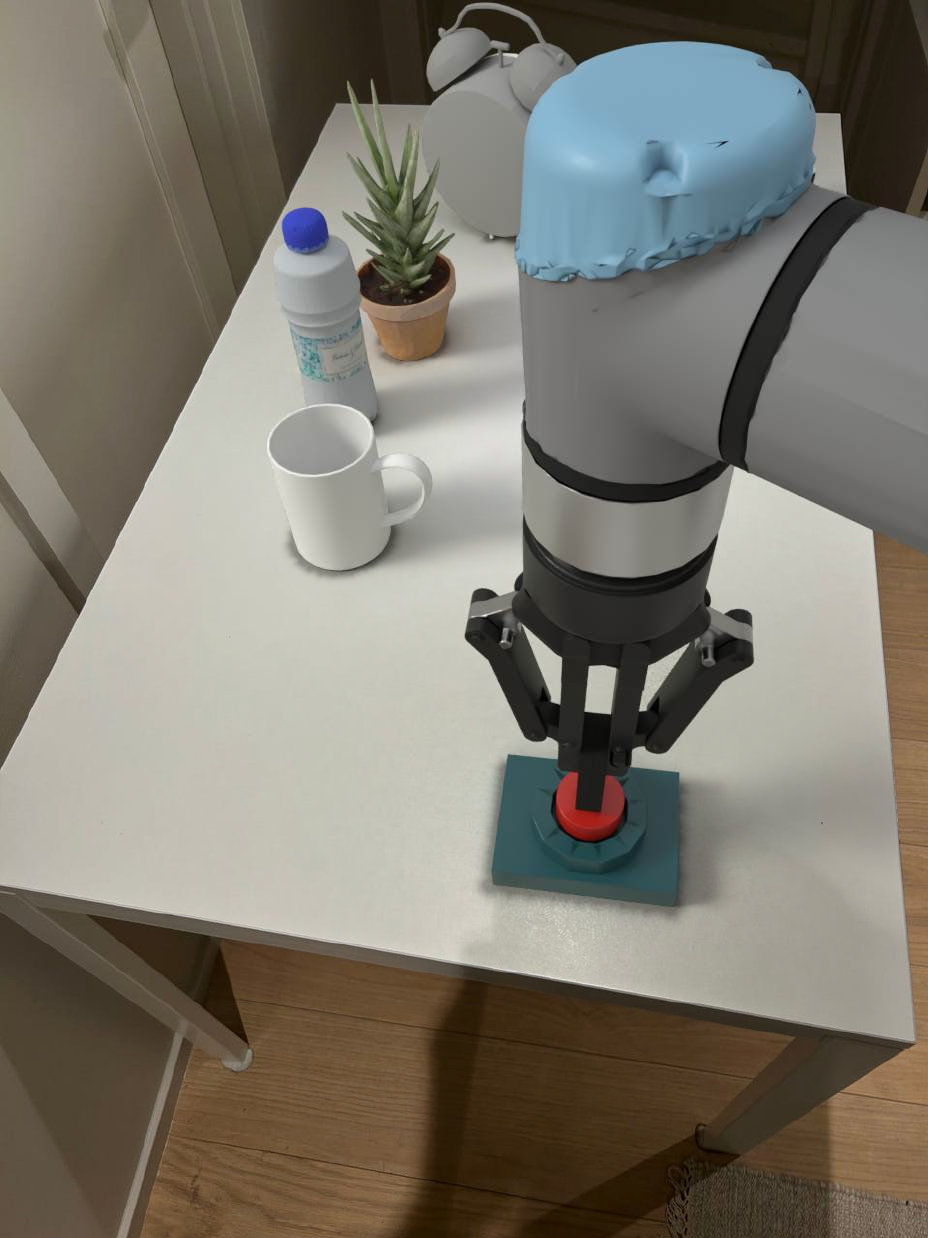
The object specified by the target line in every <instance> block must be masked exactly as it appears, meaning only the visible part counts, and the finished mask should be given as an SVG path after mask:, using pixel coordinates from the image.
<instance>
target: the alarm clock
mask: <svg viewBox="0 0 928 1238" xmlns="http://www.w3.org/2000/svg"><path fill="white" fill-rule="evenodd" d="M485 9H486V10H497V11H499V12H503V13H506V14H509V15H511V16H514V17H517V18H519V19H520V20H522V21H523V22H525V23H527V24H528V26H529V27H530V29H531V30H532V32H533V33H534V34H535V35H536V38H537V39H538V42H539V43H533V44H531V45H529V46H527V47H525V48H524V49H523V50H521V51H520V52H519V53H510V52H509V53H508V52H504V51H509V50H510V47H511V46H510V43H508V42H502V41H500V40H499V41H498V40H491V39H490V38H489V36H488V35H487V34H486V33H485V32H483V31H482V30H480V29H477V28H476V27H463V28H459V27H460V25H461V23H462V21H463V18H464V17H465V16H466V14H467V13H468V12H469V11H473V10H485ZM438 36H439V37H440V40H439V41H438V42H437V44H436V45H435V46H434V47H433V49H432V51H431V53H430V56H429V57H428V61H427V64H426V77H427V81H428V84H429V86H430V87H431V89H432V91H433V92H438V91H439V90H441V89H442V88H444V87H445V86H447V85H448V84H450V83H451V82H453V81H454V83H452V84H451V85H450V86H449V87H448V88H446V89H445V90H444V91H443V92H442V93H441V94H440V95H439V96H438V97H437V98H435V100H434V101H432V103H431V105H430V107H429V108H428V110H427V112H426V113H425V114H424V119H423V123H422V128H421V133H420V135H421V153H422V157H423V160H424V165H425V168H426V169H425V170H426V171H427V173H428V175H431V174H432V172H433V170H434V167H435V165H436V162H437V160H438V158H440V167H439V172H438V176H437V179H436V182H435V186H434V189H435V190H436V191H437V193H438V195H440V198H442V201H444V203H445V204H446V205H447V206H448V208H450V209H451V210H452V212H454V214H455V215H456V216H458V217H459V219H461V220H462V221H464V223H467V224H468V225H470V226H471V227H472V228H474V229H475V230H478V231H481V232H483V233H485V234H487V235H489V239H490V240H493V239H494V238H495V237H501V238H508V237H510V238H511V237H517V236H518V235H519V234H520V226H521V205H522V184H523V164H524V143H525V134H526V130H527V125H528V122H529V119H530V116H531V114H532V111H533V109H534V107H535V105H536V104H537V102H538V100H539V99H540V98H541V96H542V95H543V94H544V93H545V92H546V91H547V90H548V89H549V88H550V87H551V85H552V84H553V82H555V81H556V80H557V79H559V78H561V77H563V76H565V75H568V74H571V73H572V72H573V71H574V70H575V69H576V68H577V66H578V65H577V64H576V62H575V61H574V59H573V58H572V57H571V55H570V54H569V53H567V52H566V51H565V50H564V49H562V48H561V47H559V46H556V45H554V44H552V43H547V42H546V40H545V39H544V38H543V35H542V33H541V30H540V28H539V27H538V25H537V24H536V22H535V21H534V20H533V19H532V17H530V16H528V15H527V14H525V13H524V12H522V11H520V10H517V9H515V8H512V7H510V6H508V5H503V4H500V3H496V2H495V3H494V2H475V3H470V4H467V5H466V6H465V7H464V8H463V9H462V10H461V11H460V12H459V14H458V16H457V19H456V22H455V23H454V25H452V26H451V28H449V29H448V30H446V29H444V28H443V27H439V28H438ZM492 49H497V53H495V54H494V53H493V54H490V55H488V56H486V54H487V53H488V52H489V51H490V50H492ZM458 77H459V78H458ZM456 78H458V79H457V80H455V79H456Z"/></svg>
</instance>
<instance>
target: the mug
mask: <svg viewBox="0 0 928 1238" xmlns="http://www.w3.org/2000/svg"><path fill="white" fill-rule="evenodd" d="M371 422H372V421H370V420H369V419H368V418H367V417H366V416H365V415H364V414H363V413H362V412H360V411H358V410H356V409H354V408H352V407H348V406H344V405H340V404H318V405H312V406H308V407H306V406H305V407H302V408H299V409H297V410H295V411H292V412H290V413H288V414H287V415H286V416H284V417H283V418H282V419H281V420H280V421H278V422H276V424H275V425H274V427H273V428H272V429H271V430H270V433H269V435H268V437H267V439H266V453H267V456H268V458H269V462H270V465H271V469H272V472H273V475H274V478H275V482H276V485H277V488H278V491H279V494H280V498H281V502H282V504H283V505H282V506H283V508H284V511H285V514H286V517H287V521H288V524H289V528H290V531H291V534H292V537H293V540H294V544H295V546H296V549H297V552H298V553H299V554H300V555H301V557H302V558H303V559H304V560H305V561H307V562H308V563H310V564H311V565H313V566H314V567H317V568H320V569H323V570H325V571H347V570H348V571H349V570H352V569H355V568H359V567H362V566H364V565H366V564H368V563H370V562H371V561H374V559H375V558H377V557H378V556H379V555H380V554H381V553H382V552H383V551H384V549H385V547H386V546H387V545H388V543H389V539H390V536H391V533H392V528H391V527H392V526H395V525H399V524H401V523H404V522H407V521H409V520H411V519H412V518H414V517H415V516H417V515H419V514H420V513H421V512H422V510H424V509H425V507H426V505H427V503H428V501H429V499H430V496H431V494H432V490H433V476H432V473H431V470H430V467H428V465H427V464H426V463H425V461H424V460H422V459H421V458H420V457H418V456H416V455H413V454H411V453H404V452H402V453H401V452H400V453H398V452H397V453H390V454H387V455H383V456H381V457H379V453H378V446H377V441H376V435H375V430H374V427H373V425H372V423H371ZM391 468H392V469H393V468H394V469H395V468H396V469H397V468H398V469H404V470H407V471H409V472H412V473H413V474H414V475H415V476H416V477H417V478H418V479H419V480H420V483H421V489H422V492H421V494H420V497H419V499H418V500H416V502H414V503H413V504H411V505H410V506H408V507H406V508H403V509H401V510H397V511H393V512H389V508H388V502H387V497H386V491H385V485H384V479H383V475H382V470H385V469H391Z"/></svg>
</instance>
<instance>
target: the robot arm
mask: <svg viewBox="0 0 928 1238" xmlns="http://www.w3.org/2000/svg"><path fill="white" fill-rule="evenodd" d="M816 125H817V114H816V110H815V106H814V104H813V101H812V99H811V96H810V94H809V91H808V89H807V87H805V85H804V84H803V83H802V82H801V81H800V80H799V79H798V78H797V77H796V76H795V75H793V74H792V73H791V72H790V71H786V70H785V71H784V70H779V69H774V68H773V67H772V64H771V62H770V61H768V60H767V59H766V57H765V56H763V55H760V54H758V53H756V52H754V51H750V50H746V49H742V48H738V47H734V46H731V45H725V44H720V43H710V42H699V41H686V40H685V41H660V42H649V43H642V44H635V45H630V46H627V47H626V46H625V47H621V48H618V49H615V50H611V51H608V52H605V53H602V54H598V55H595V56H593V57H591V58H589V59H587V60H584V61H583V62H581V63H579V64H578V65H577V68H576V69H575V70H574V71H573V72H572V73H571V74H568V75H565V76H563V77H561V78H559V79H557V80H556V81H555V82H553V84H552V85H551V87H550V88H549V89H548V90H547V91H546V92H545V93H544V94H543V95H542V96H541V98H540V99H539V100H538V102H537V104H536V105H535V107H534V109H533V111H532V114H531V116H530V119H529V122H528V125H527V130H526V134H525V143H524V164H523V184H522V205H521V226H520V234H519V235H517V236H516V241H515V245H514V259H515V264H516V265H517V273H518V291H519V309H520V325H521V326H520V329H521V344H522V345H521V347H522V362H523V383H524V399H523V402H522V406H521V407H522V409H521V412H522V421H521V424H520V437H521V439H520V441H521V442H520V444H521V445H520V448H521V497H522V498H521V500H522V501H521V502H522V511H523V513H522V571H521V572H520V573H519V574H518V576H517V577H516V579H515V581H514V583H513V589H514V591H510V592H507V593H505V594H501V595H499V594H498V593H496V592H495V591H494V590H492V589H489V588H486V587H485V588H484V587H480V588H476V589H475V590H473V592H472V594H471V598H470V599H471V600H470V604H469V610H468V614H467V621H466V625H465V630H464V640H465V641H466V642H467V643H468V644H469V645H470V646H471V647H473V648H474V649H475V650H476V651H477V652H478V653H479V654H480V655H481V656H483V657H484V658H485V659H486V660H487V661H488V663H489V665H490V667H491V670H492V671H493V674H494V676H495V678H496V680H497V682H498V684H499V686H500V688H501V691H502V693H503V695H504V697H505V699H506V702H507V703H508V706H509V708H510V710H511V712H512V714H513V716H514V718H515V721H516V723H517V724H518V727H519V729H520V731H521V733H522V735H523V737H524V739H526V740H528V741H529V742H534V743H541V742H544V741H546V739H552V740H554V741H556V743H557V745H558V748H557V749H558V750H557V759H558V765H557V766H558V768H559V769H560V770H561V771H566V772H575V773H578V781H577V792H576V803H575V810H581V811H589V812H598V813H601V808H602V800H603V793H604V786H605V779H606V775H609V776H618V777H623V776H625V775H626V774H627V772H628V768H629V767H632V761H633V760H632V759H633V750H634V749H638V748H642V747H644V749H645V751H647V752H648V753H651V754H656V755H662V754H666V753H667V752H668V751H669V750H670V749H671V748H672V747H673V746H674V744H675V743H676V742H677V741H678V739H679V738H680V737H681V736H682V734H683V733H684V732H685V730H687V728H688V727H689V725H690V724H691V723H692V722H693V720H694V719H695V718H696V716H697V715H698V714H699V713H700V711H701V710H702V709H703V708H704V706H705V705H706V704H707V702H709V700H710V699H711V698H712V696H713V695H714V694H715V692H716V691H717V690H718V689H719V688H720V686H721V685H722V684H723V682H726V681H727V680H729V679H731V678H733V677H734V676H736V675H738V674H739V673H741V672H743V671H745V670H746V669H748V668H749V667H751V666H753V665H754V662H755V655H754V654H755V652H754V651H755V650H754V634H753V633H754V632H753V630H754V625H753V615H752V613H751V612H750V611H749V610H747V609H744V608H732V609H730V610H728V611H726V612H725V613H722V612H720V610H719V611H718V609H715V608H713V607H712V606H711V604H712V597H711V593H710V592H709V590H708V588H707V585H708V581H709V576H710V574H711V569H712V564H713V560H714V556H715V553H716V548H717V547H716V546H717V543H718V539H719V532H720V529H721V525H722V522H723V519H724V516H725V511H726V506H727V503H728V498H729V494H730V488H731V485H732V480H733V475H734V471H735V467H736V468H738V469H740V470H741V471H744V472H746V473H747V474H750V475H754V476H755V477H757V478H760V479H762V480H764V481H767V482H769V483H770V484H773V485H775V486H777V487H779V488H781V489H784V490H786V491H788V492H790V493H792V494H794V495H796V496H798V497H800V498H803V499H805V500H807V501H808V502H812V503H813V504H816V505H818V506H820V507H822V508H824V509H826V510H828V511H830V512H832V513H834V514H837V515H839V516H840V517H843V518H846V519H847V520H850V521H852V522H854V523H856V524H859V525H861V526H862V527H865V528H867V529H868V530H871V531H873V532H875V533H878V534H880V535H882V536H884V537H885V538H888V539H891V540H892V541H894V542H896V543H898V544H901V545H903V546H905V547H908V548H910V549H911V550H914V551H916V552H917V553H920V554H922V555H925V556H926V557H928V220H927V219H924V218H921V217H918V216H914V215H910V214H907V213H903V212H900V211H898V210H895V209H890V208H887V207H883V206H877V205H875V204H872V203H868V202H865V201H861V200H857V199H855V198H854V197H852V196H851V195H849V194H845V193H841V192H838V191H835V190H831V189H828V188H824V187H821V186H819V185H817V184H815V183H814V182H813V183H811V178H812V175H813V167H814V165H815V163H816V161H817V156H816V155H815V153H814V151H813V148H814V141H815V134H816V129H817V128H816V127H817V126H816ZM525 628H526V629H527V630H528V631H529V632H531V634H533V635H534V636H535V637H536V638H537V639H538V640H539V641H540V642H542V644H544V645H545V646H546V647H547V648H548V649H549V650H550V651H552V653H554V654H555V655H556V656H557V657H560V658H561V673H560V699H559V700H560V701H559V703H557V702H554V701H552V695H551V693H550V690H549V688H548V685H547V683H546V680H545V678H544V674H543V672H542V670H541V668H540V666H539V663H538V661H537V658H536V655H535V653H534V651H533V648H532V645H531V643H530V640H529V638H528V636H527V632H526V631H525ZM685 646H687V647H686V649H685V650H684V651H683V653H682V654H681V656H679V659H678V660H677V661H676V663H675V664H674V666H673V667H672V668H671V670H670V671H669V673H668V675H667V676H666V677H665V678H664V680H663V682H662V683H661V685H660V686H659V688H658V689H657V690H656V691H655V693H654V695H653V696H652V697H651V699H650V701H649V702H648V703H647V705H646V710H640V708H641V704H642V698H643V692H644V691H645V687H646V681H647V676H648V670H649V666H651V665H654V664H656V663H658V662H660V661H661V660H663V659H664V658H666V657H668V656H670V655H671V654H673V653H675V652H676V651H678V650H681V649H682V648H683V647H685ZM599 666H600V667H601V666H604V667H605V666H606V667H610V668H613V669H616V670H615V676H614V686H613V694H612V699H611V709H610V713H604V712H592V711H586V702H587V692H588V681H589V669H590V667H599Z"/></svg>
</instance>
